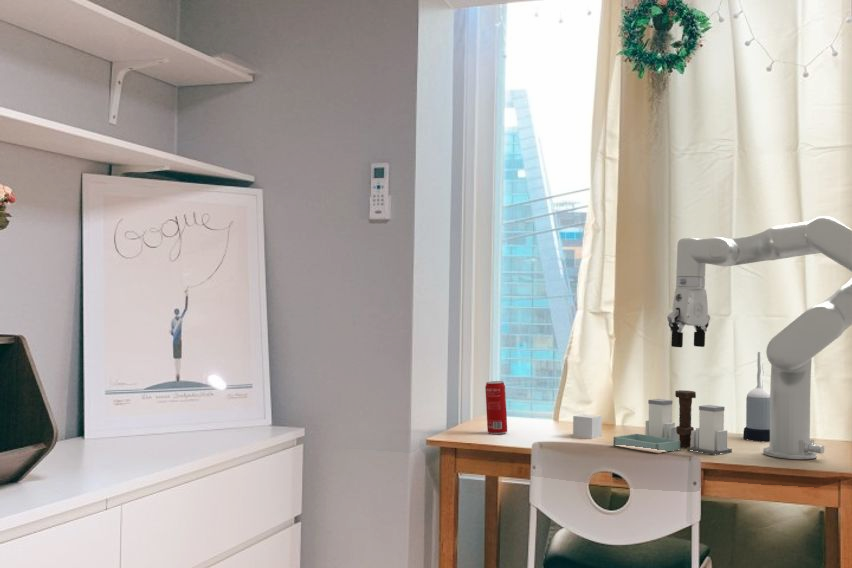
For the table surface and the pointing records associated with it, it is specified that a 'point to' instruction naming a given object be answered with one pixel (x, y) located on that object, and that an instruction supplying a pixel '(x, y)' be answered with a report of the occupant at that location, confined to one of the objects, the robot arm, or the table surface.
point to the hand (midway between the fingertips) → (688, 346)
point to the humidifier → (758, 412)
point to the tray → (647, 442)
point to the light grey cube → (587, 426)
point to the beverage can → (496, 407)
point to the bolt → (685, 416)
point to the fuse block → (702, 439)
